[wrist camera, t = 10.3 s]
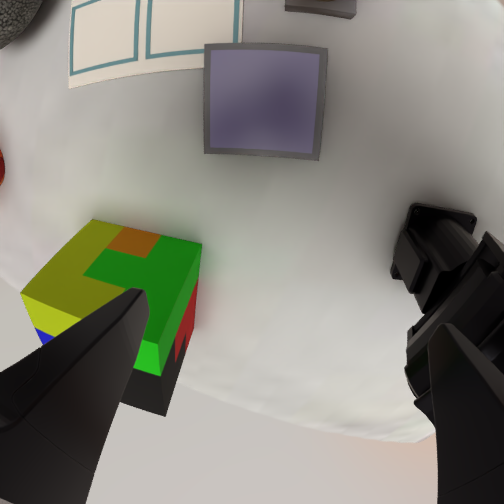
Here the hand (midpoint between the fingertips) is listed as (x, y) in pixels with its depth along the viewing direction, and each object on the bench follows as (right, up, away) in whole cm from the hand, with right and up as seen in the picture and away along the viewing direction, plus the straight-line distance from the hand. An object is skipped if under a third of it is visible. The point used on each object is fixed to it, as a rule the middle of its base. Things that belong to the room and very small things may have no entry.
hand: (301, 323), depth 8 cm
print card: (-8, +17, +6) cm, 20 cm away
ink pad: (-1, +11, +8) cm, 14 cm away
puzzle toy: (-11, 0, +17) cm, 20 cm away
